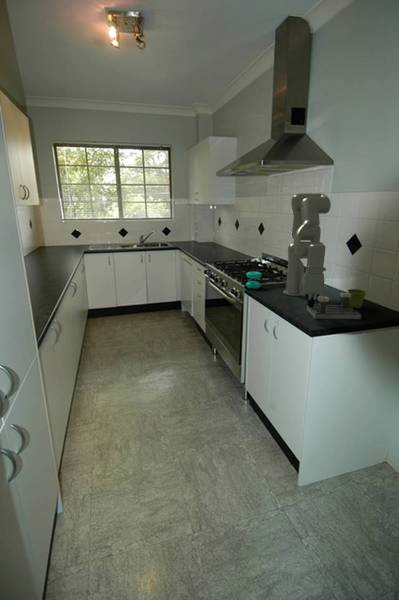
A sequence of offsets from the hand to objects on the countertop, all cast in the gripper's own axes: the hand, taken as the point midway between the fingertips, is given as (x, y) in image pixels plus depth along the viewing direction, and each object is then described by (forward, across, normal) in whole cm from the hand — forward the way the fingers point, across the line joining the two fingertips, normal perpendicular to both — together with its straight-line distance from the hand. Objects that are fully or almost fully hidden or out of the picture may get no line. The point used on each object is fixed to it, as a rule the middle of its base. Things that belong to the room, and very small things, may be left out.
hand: (310, 306), depth 155 cm
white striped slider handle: (+3, -20, -8) cm, 22 cm away
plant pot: (+5, -30, -17) cm, 35 cm away
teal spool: (+5, +20, -57) cm, 61 cm away
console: (+5, -13, -4) cm, 14 cm away
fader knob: (+3, -6, 0) cm, 6 cm away
